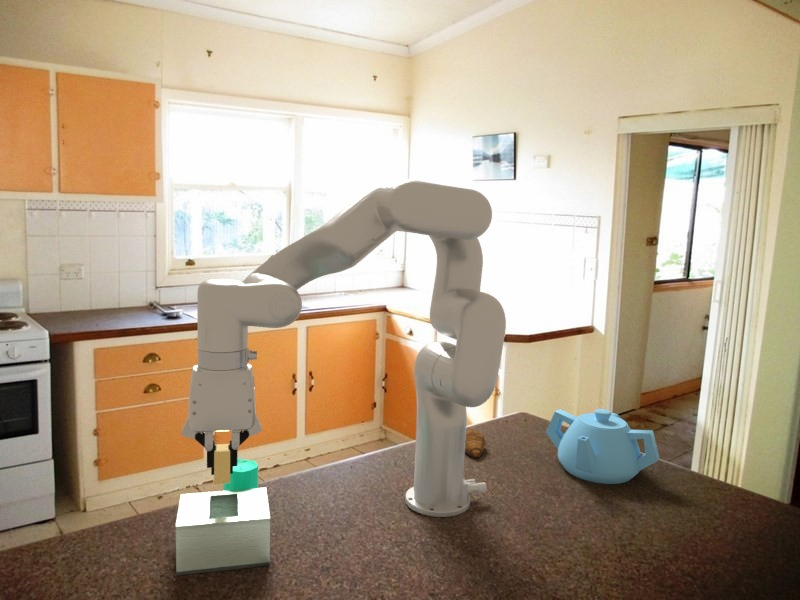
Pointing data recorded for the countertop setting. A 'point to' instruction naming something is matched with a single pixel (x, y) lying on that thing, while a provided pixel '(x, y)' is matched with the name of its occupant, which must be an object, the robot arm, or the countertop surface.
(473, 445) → the croissant
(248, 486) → the candle
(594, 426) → the teapot
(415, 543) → the countertop surface
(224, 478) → the block
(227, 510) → the coin box
